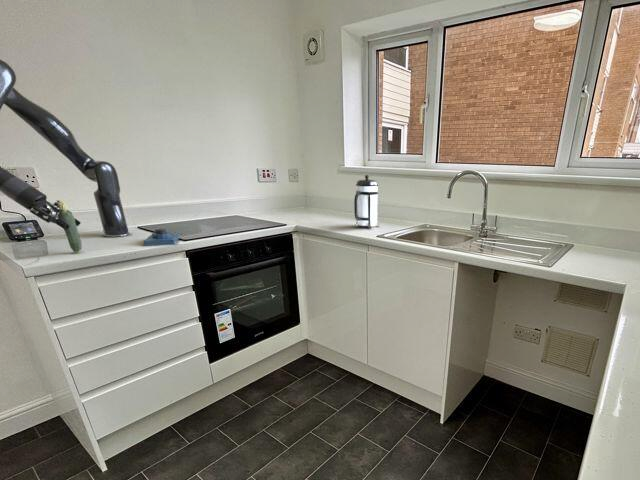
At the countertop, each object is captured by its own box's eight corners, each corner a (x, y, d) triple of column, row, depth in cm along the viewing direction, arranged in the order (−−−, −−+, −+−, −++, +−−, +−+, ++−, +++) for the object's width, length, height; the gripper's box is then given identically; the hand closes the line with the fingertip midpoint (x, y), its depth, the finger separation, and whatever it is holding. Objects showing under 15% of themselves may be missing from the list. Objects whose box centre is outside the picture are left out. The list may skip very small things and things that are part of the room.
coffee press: (351, 225, 217) (350, 173, 206) (376, 224, 220) (377, 174, 210) (354, 230, 201) (354, 175, 190) (382, 229, 205) (382, 175, 194)
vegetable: (87, 252, 137) (71, 200, 129) (74, 255, 133) (57, 201, 125) (79, 251, 138) (63, 199, 131) (66, 253, 134) (49, 200, 127)
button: (157, 233, 158) (155, 228, 157) (167, 233, 159) (166, 228, 158) (155, 235, 154) (154, 230, 153) (165, 234, 156) (164, 230, 155)
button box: (151, 239, 162) (150, 230, 160) (179, 238, 166) (177, 229, 164) (145, 245, 150) (142, 236, 148) (174, 244, 154) (172, 235, 153)
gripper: (16, 187, 118) (70, 222, 125) (42, 184, 131) (89, 216, 138) (2, 203, 118) (56, 237, 126) (30, 199, 131) (77, 230, 139)
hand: (73, 226), depth 132 cm, fingers open, 7 cm apart
